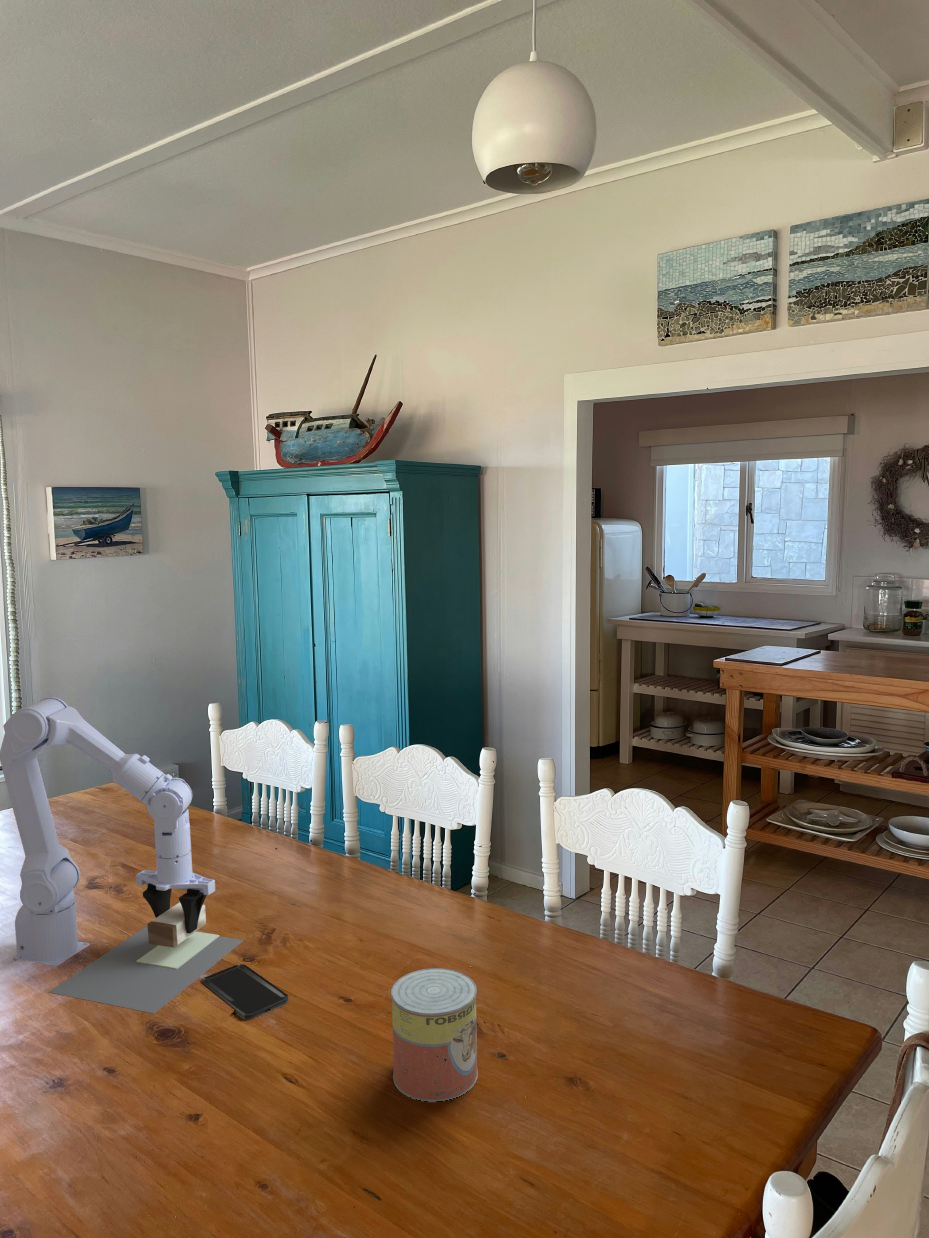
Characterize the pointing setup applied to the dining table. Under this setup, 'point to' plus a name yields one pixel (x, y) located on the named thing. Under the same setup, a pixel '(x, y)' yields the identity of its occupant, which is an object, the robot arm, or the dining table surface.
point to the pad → (178, 951)
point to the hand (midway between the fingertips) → (178, 928)
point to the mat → (140, 975)
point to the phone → (245, 991)
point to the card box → (172, 927)
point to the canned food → (434, 1034)
